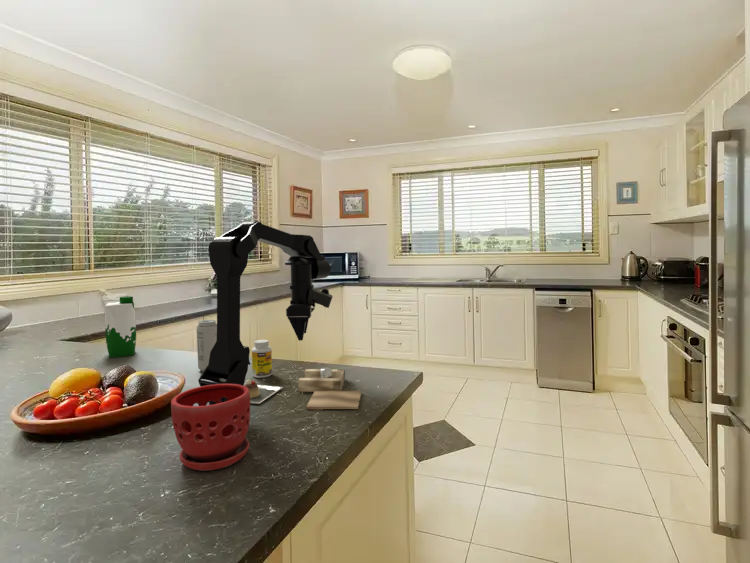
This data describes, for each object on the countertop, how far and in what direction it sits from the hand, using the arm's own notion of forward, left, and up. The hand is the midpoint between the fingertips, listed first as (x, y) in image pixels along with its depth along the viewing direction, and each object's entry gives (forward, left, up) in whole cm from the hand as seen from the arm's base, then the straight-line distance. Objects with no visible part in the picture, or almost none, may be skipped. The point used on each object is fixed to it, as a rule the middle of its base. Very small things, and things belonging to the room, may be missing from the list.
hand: (302, 336), depth 120 cm
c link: (-5, -6, -12) cm, 15 cm away
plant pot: (-45, +7, -13) cm, 47 cm away
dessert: (-12, +11, -13) cm, 21 cm away
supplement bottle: (+3, +13, -12) cm, 18 cm away
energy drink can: (+8, +31, -12) cm, 34 cm away
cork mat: (-16, -11, -12) cm, 23 cm away
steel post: (-5, -7, -12) cm, 15 cm away
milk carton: (+26, +69, -12) cm, 75 cm away
